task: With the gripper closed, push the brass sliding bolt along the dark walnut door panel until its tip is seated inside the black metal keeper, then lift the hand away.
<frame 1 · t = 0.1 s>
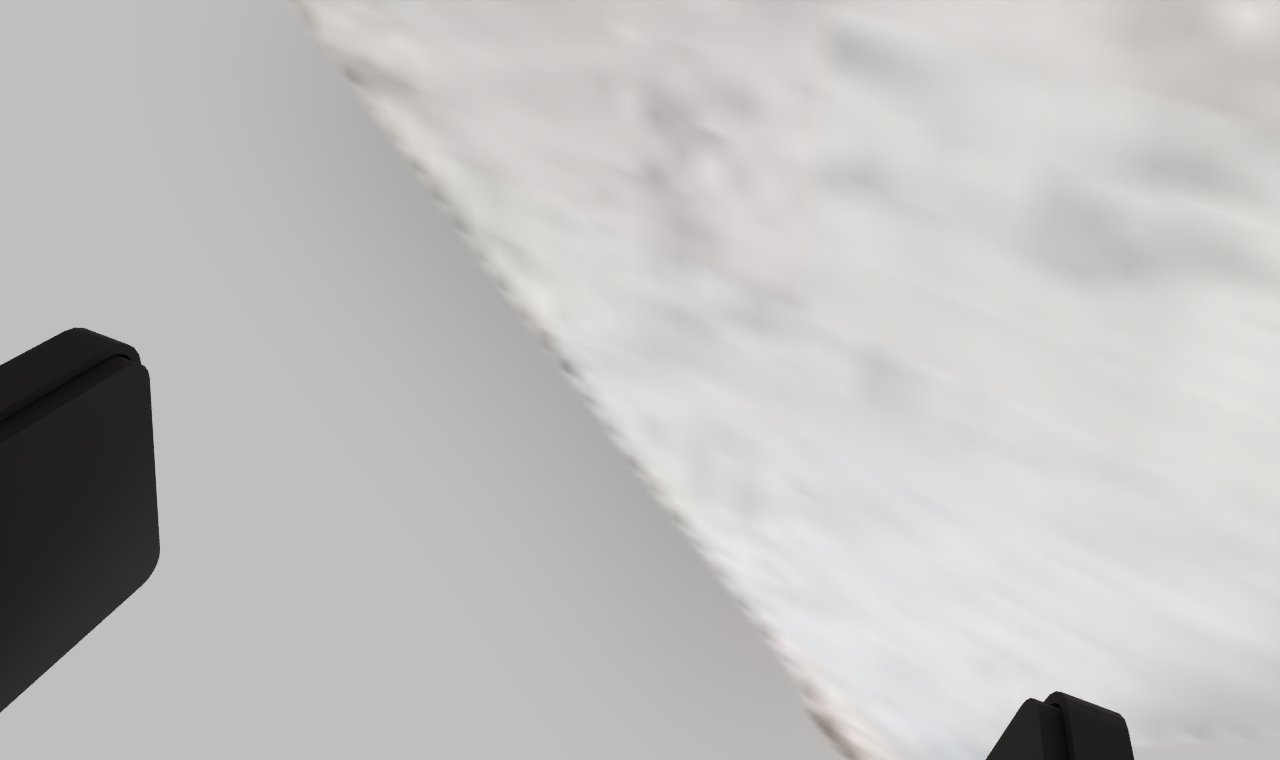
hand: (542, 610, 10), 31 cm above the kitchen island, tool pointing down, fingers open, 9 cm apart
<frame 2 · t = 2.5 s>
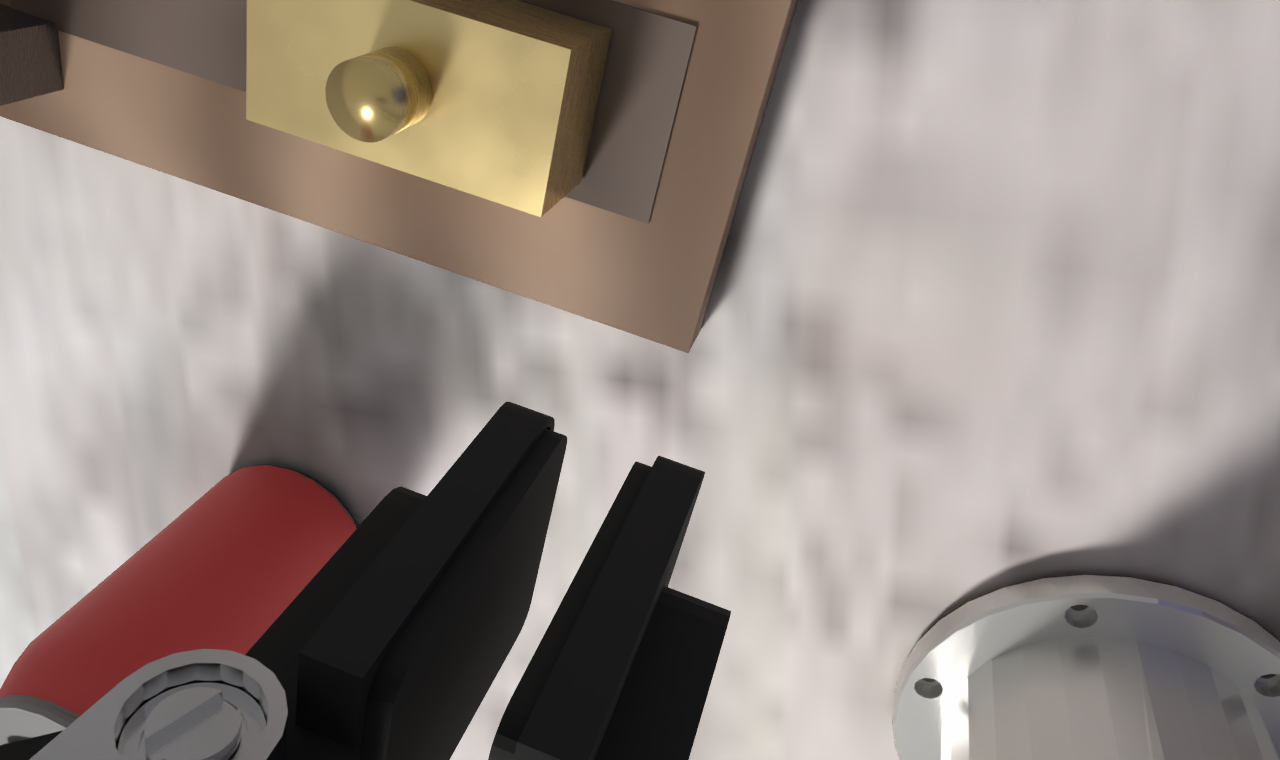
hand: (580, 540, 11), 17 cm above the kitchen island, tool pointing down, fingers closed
beer can: (300, 524, 38), on the kitchen island
bolt: (411, 81, 23), point 4 cm above the kitchen island, slide at 0.0 cm
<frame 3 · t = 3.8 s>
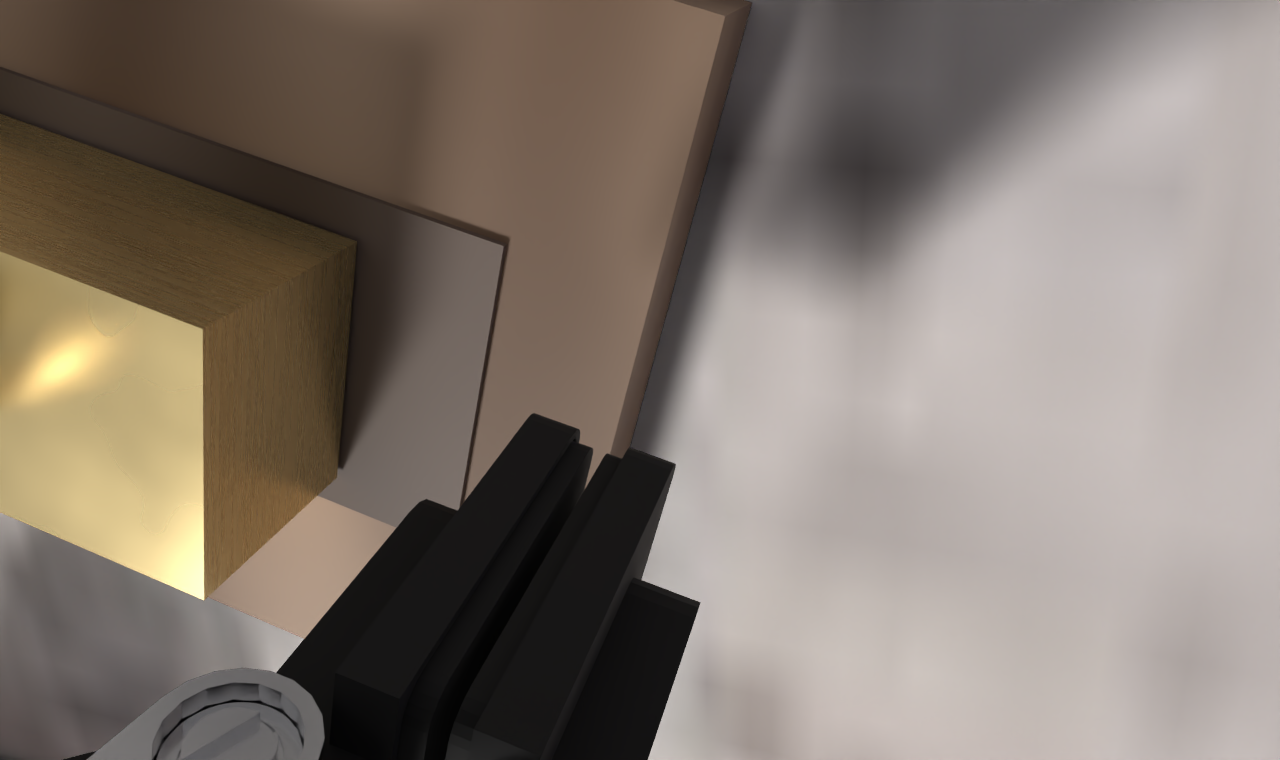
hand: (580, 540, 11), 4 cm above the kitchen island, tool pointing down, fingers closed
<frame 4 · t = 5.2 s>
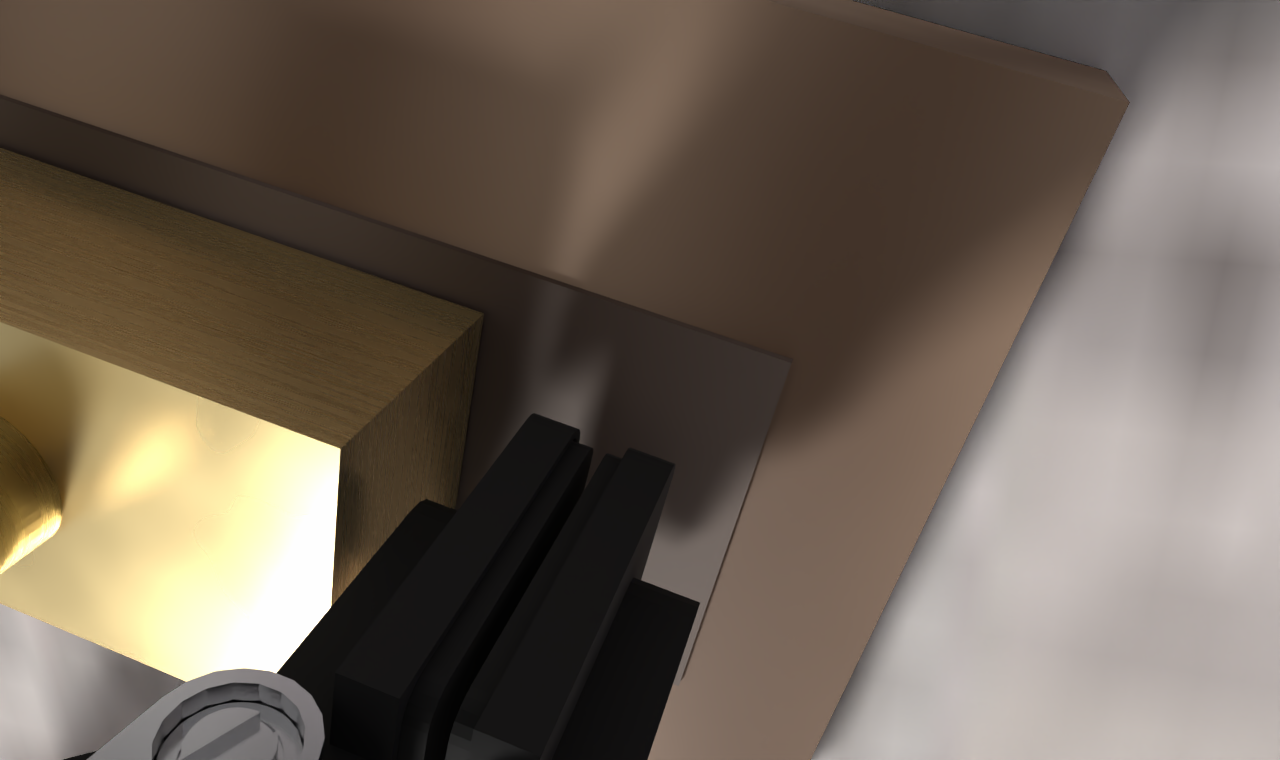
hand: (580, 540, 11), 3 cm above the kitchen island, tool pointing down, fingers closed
bolt: (42, 439, 11), point 4 cm above the kitchen island, slide at 1.5 cm, touching gripper
door panel: (2, 207, 15), on the kitchen island
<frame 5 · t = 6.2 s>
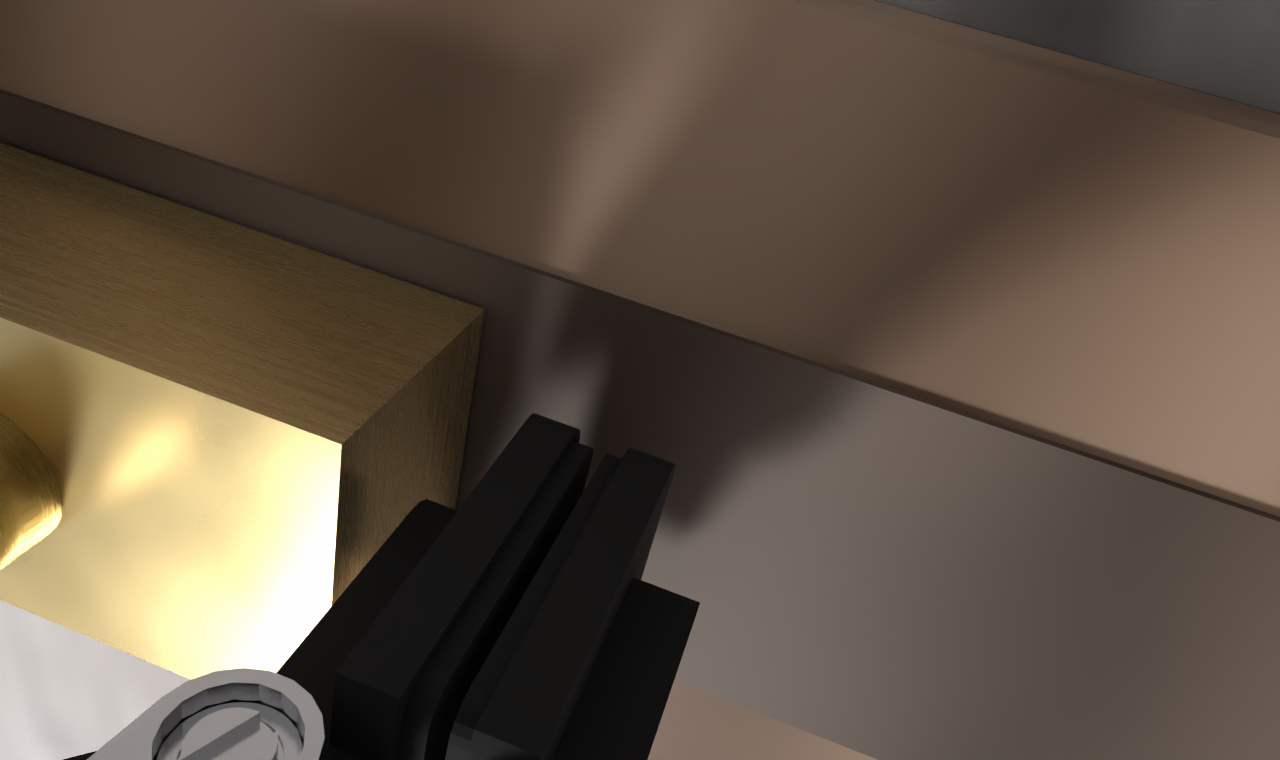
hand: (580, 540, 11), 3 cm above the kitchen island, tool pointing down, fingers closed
bolt: (42, 434, 11), point 4 cm above the kitchen island, slide at 8.7 cm, touching gripper
door panel: (430, 354, 14), on the kitchen island
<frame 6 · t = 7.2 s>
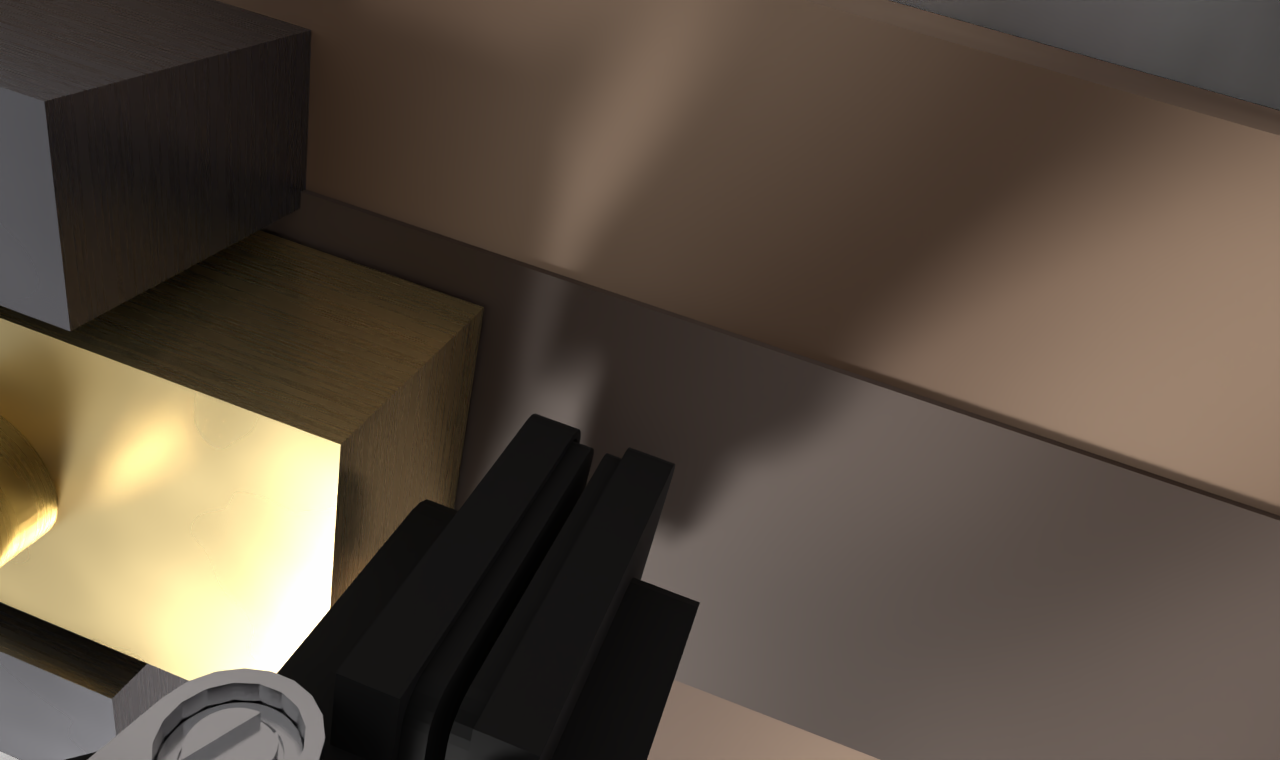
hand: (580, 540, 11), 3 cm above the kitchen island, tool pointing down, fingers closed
keeper: (146, 252, 14), resting on door panel
bolt: (37, 434, 10), point 4 cm above the kitchen island, slide at 14.1 cm, touching gripper
door panel: (797, 482, 13), on the kitchen island
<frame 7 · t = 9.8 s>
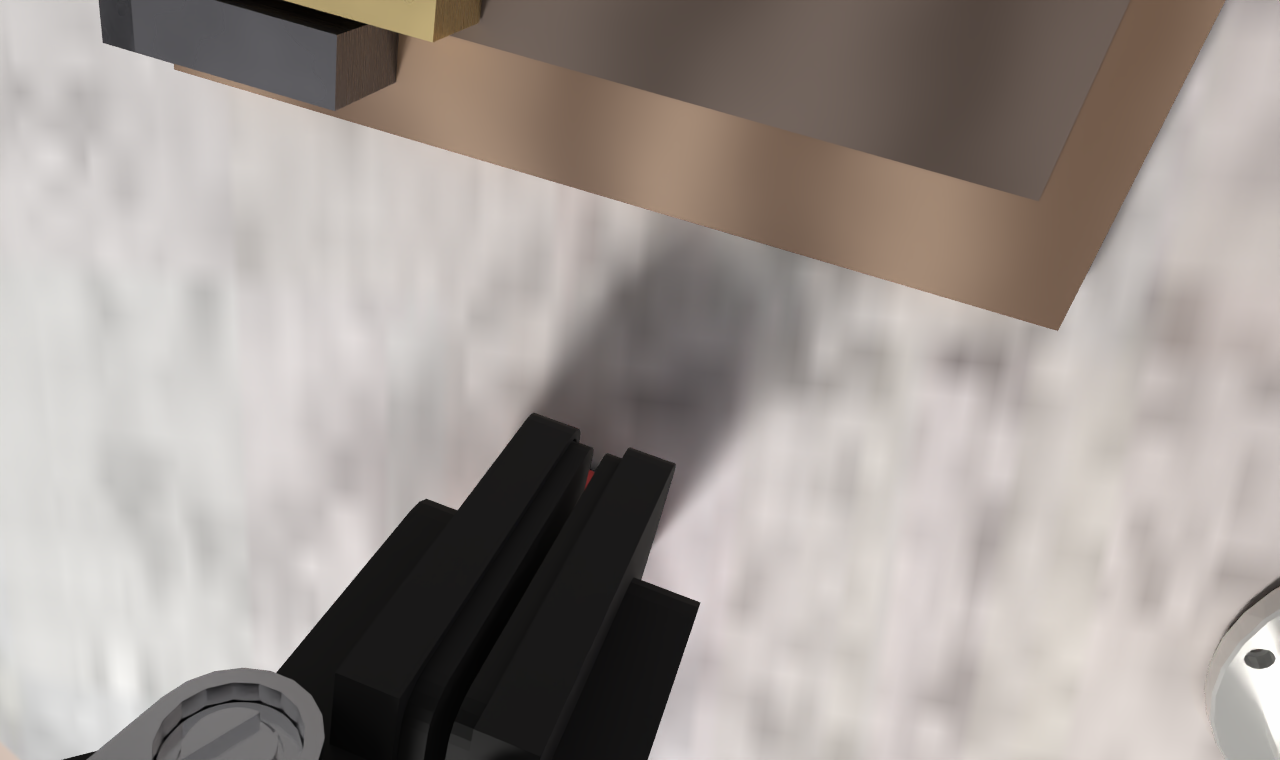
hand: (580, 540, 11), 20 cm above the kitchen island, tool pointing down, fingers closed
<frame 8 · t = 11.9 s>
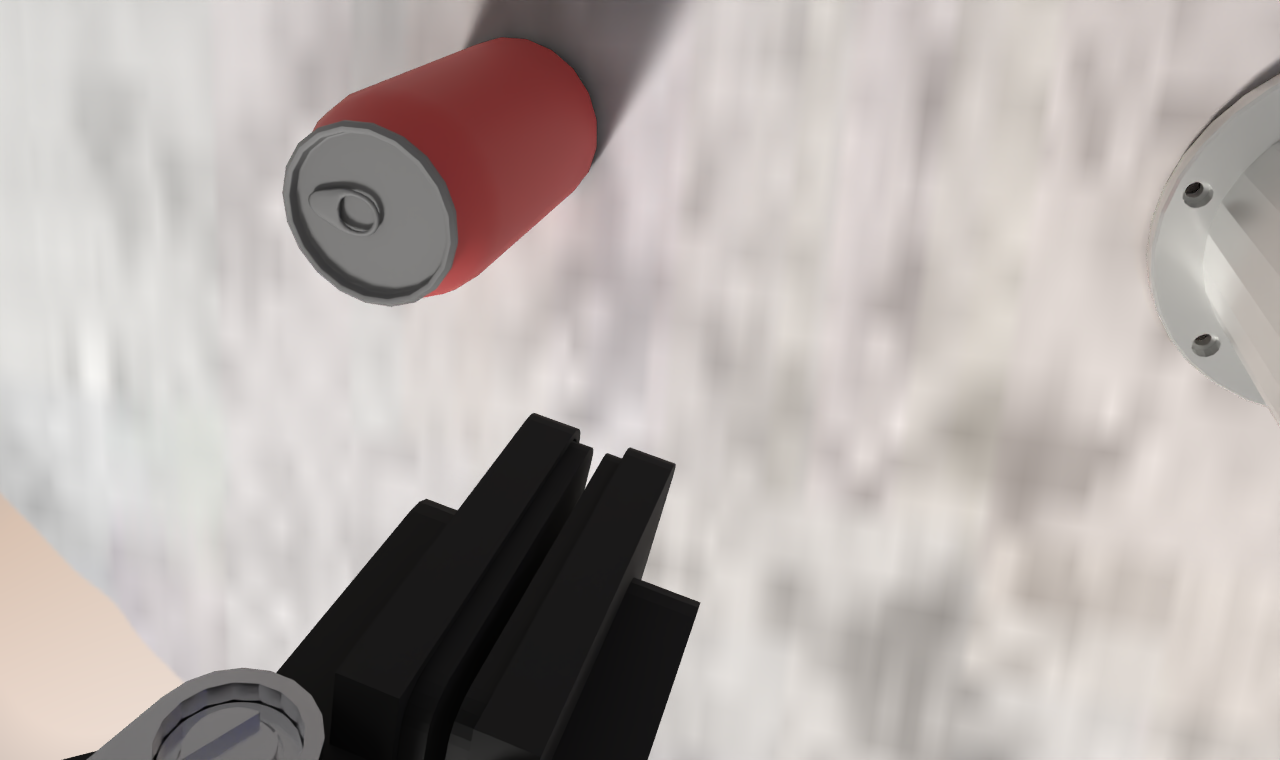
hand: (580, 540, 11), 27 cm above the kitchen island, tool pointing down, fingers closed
beer can: (525, 120, 38), on the kitchen island
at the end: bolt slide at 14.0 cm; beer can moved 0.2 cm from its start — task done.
